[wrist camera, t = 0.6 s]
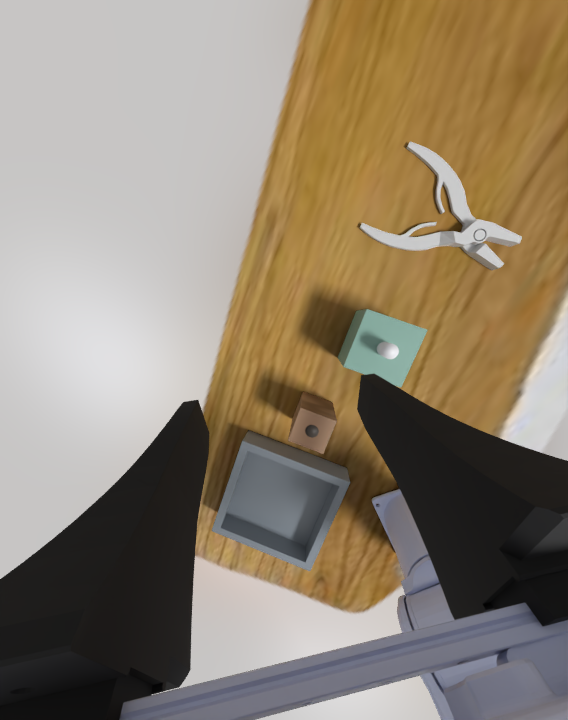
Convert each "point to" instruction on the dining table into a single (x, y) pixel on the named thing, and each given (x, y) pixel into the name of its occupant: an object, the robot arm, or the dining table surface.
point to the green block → (381, 346)
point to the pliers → (472, 228)
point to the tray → (281, 500)
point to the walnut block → (312, 423)
